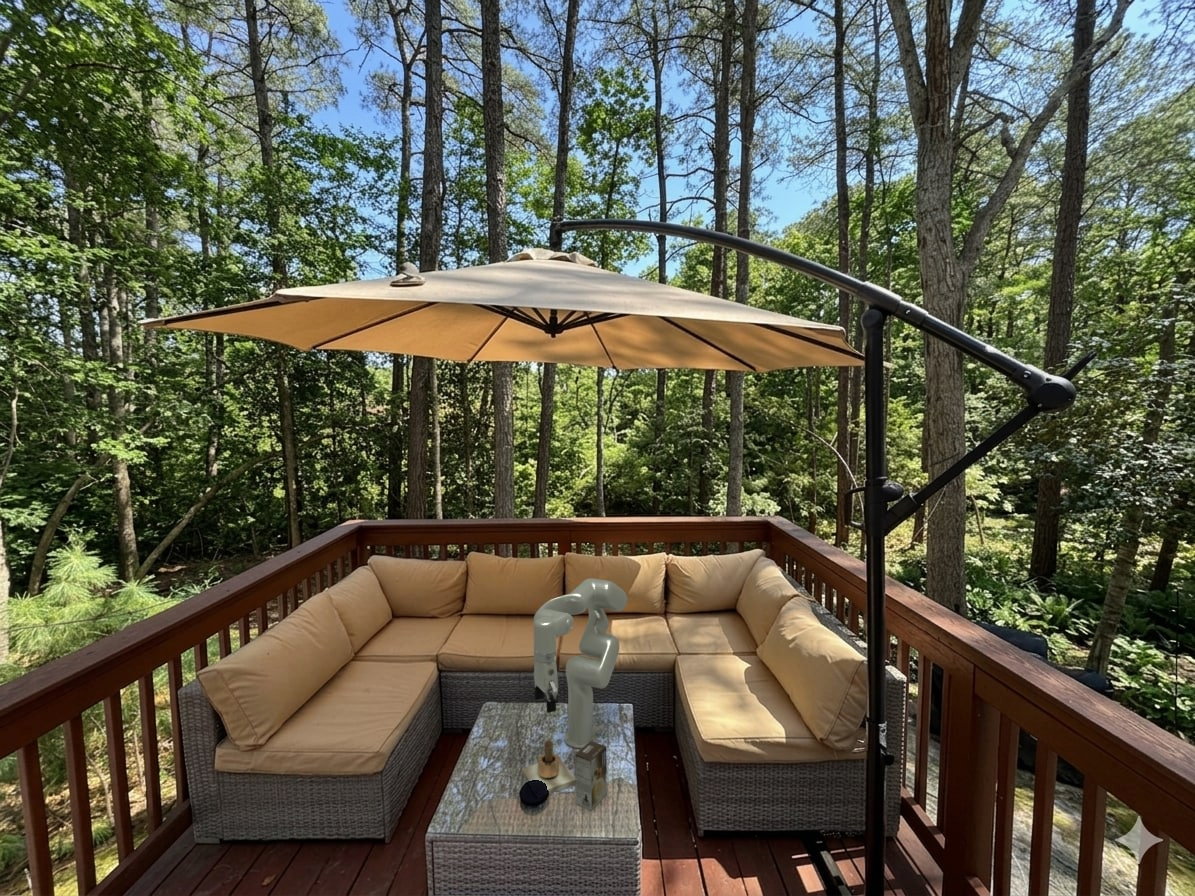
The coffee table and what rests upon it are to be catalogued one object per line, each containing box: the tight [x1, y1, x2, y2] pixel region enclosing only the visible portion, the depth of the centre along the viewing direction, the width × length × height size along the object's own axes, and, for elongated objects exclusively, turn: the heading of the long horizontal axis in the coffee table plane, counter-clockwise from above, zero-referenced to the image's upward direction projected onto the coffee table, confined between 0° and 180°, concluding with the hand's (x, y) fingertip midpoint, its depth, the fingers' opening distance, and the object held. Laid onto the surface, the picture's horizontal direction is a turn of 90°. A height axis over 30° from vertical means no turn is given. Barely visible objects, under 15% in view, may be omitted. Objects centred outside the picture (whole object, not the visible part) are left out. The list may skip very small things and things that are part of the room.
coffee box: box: [575, 741, 608, 811], centre depth 166 cm, size 9×6×16 cm
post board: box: [521, 739, 576, 795], centre depth 176 cm, size 14×14×13 cm
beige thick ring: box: [537, 752, 560, 778], centre depth 176 cm, size 7×7×4 cm
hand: (545, 704), depth 177 cm, fingers open, 9 cm apart
